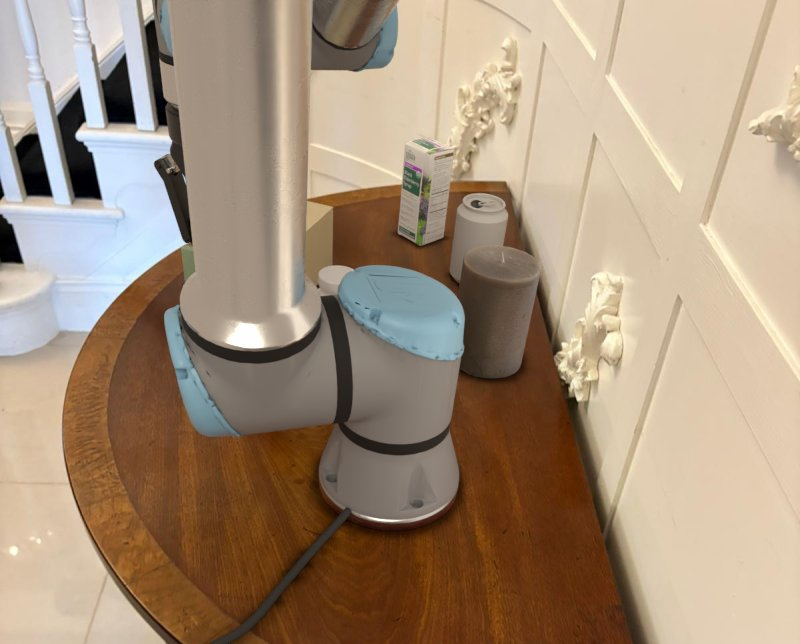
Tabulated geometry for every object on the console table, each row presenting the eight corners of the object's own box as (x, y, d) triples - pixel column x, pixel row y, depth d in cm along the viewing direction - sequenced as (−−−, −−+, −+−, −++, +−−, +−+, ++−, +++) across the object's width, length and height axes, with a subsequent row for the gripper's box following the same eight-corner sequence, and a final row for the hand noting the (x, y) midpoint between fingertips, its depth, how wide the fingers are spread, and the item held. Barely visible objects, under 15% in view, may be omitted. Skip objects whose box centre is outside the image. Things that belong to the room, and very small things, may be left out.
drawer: (251, 342, 102) (247, 286, 97) (167, 319, 105) (159, 263, 99) (310, 281, 115) (310, 229, 109) (235, 262, 117) (231, 210, 112)
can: (451, 264, 124) (460, 187, 116) (498, 270, 124) (511, 193, 115) (446, 286, 119) (456, 207, 110) (495, 293, 118) (509, 214, 110)
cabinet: (290, 313, 110) (288, 247, 103) (204, 290, 113) (197, 224, 106) (332, 269, 120) (333, 206, 113) (252, 249, 123) (248, 187, 116)
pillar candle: (460, 381, 101) (476, 272, 91) (442, 340, 108) (455, 234, 97) (531, 377, 103) (556, 270, 92) (509, 337, 110) (529, 233, 99)
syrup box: (396, 234, 130) (402, 141, 120) (421, 225, 133) (430, 134, 123) (419, 247, 127) (428, 153, 117) (445, 238, 131) (456, 146, 120)
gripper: (268, 103, 88) (276, 296, 105) (166, 82, 91) (190, 274, 107) (235, 123, 83) (249, 323, 100) (128, 100, 85) (159, 298, 102)
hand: (218, 297), depth 103 cm, fingers closed
